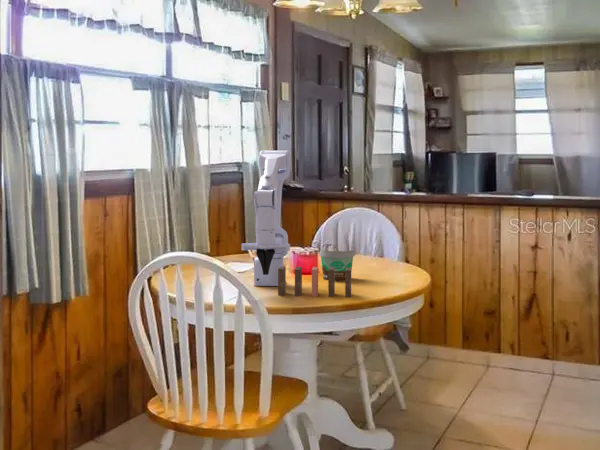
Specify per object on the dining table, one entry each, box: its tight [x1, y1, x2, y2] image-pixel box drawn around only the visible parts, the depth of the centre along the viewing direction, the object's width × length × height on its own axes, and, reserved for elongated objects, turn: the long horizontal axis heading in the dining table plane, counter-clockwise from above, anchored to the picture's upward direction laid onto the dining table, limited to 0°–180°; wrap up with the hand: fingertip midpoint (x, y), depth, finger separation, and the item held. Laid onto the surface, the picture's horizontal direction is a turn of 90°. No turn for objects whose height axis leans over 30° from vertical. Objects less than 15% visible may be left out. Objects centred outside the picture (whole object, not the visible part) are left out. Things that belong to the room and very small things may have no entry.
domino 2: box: [294, 266, 303, 297], centre depth 213 cm, size 2×5×8 cm, turn 174°
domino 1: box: [277, 266, 287, 297], centre depth 214 cm, size 2×5×8 cm, turn 174°
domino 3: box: [311, 266, 319, 297], centre depth 213 cm, size 2×5×8 cm, turn 175°
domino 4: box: [327, 267, 336, 298], centre depth 212 cm, size 2×5×8 cm, turn 174°
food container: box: [318, 248, 356, 282], centre depth 237 cm, size 12×6×10 cm, turn 101°
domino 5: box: [344, 268, 352, 298], centre depth 212 cm, size 2×5×8 cm, turn 174°
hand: (265, 274), depth 214 cm, fingers closed
